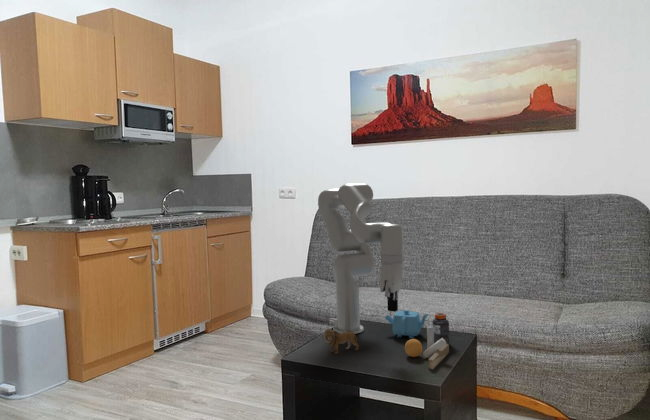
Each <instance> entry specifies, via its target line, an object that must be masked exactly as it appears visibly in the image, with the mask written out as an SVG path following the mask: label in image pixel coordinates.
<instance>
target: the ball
mask: <svg viewBox="0 0 650 420" xmlns="http://www.w3.org/2000/svg"><path fill="white" fill-rule="evenodd" d="M404 350H405V353H406V354H407V355H408V356H409V357H411V358H417V357H419V356H420V355H421V354H422V353H423V344H422V343H421V341H420V340H418V339H416V338H413V339H411V338H409V340H407V341H406V342H405V345H404Z"/></svg>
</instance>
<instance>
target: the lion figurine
mask: <svg viewBox="0 0 650 420" xmlns="http://www.w3.org/2000/svg"><path fill="white" fill-rule="evenodd" d="M323 339H324V342H325V343H326V344H328V346H331V349H330V351H329V352H331V353H333V354H334V355H337V354H338V353H339V345H341V344H345V343H346V342H347V346H346V347H345V350H349V348H350V347H351V346H352V345H353V346H355V347H356V348H354V351H359V347H360V344H359V343H358V338H357V334H354V333H353V332H346V333H342V334H340V333H338V332H336V331H333V329H331V328H327V329H325V331H324V332H323Z"/></svg>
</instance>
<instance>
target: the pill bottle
mask: <svg viewBox="0 0 650 420" xmlns="http://www.w3.org/2000/svg"><path fill="white" fill-rule="evenodd" d="M432 326H433V327H434V343H436V342H437V341H438V340H440V339H441V338H443V339H444V340H445V341H446V344H449V345H450V321H449V319H447V314H446V313H444V312H437V313H435V314H434V319H432Z"/></svg>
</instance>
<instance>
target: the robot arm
mask: <svg viewBox="0 0 650 420" xmlns="http://www.w3.org/2000/svg"><path fill="white" fill-rule="evenodd" d="M373 198H374V191H373V188H372V187H371V186H370V185H369V184H367V183H346V184H343V185H341V186H340V187H339V188H330V189H325V190H322V191H320V193H319V195H318V199H317V206H318V211H319V214H320V216H321V218H322V220H323V222H324V224H325V228H326V230H327V231H326V232H327V235H328V239H329V242H330V246H331V248H332V250H333V252H335V253H338V254H341V253H344V254H341V255H338V256H336V257H335V258H334V259H333V263H332V268H333V273H334V281H335V294H336V295H335V297H336V299H335V301H336V318H334V317H330V318H329V319H328V320H329V322H328V323H329V324H330V325H334V326H333V329H332V330H333V331H336V332H338V333H340V334H342V333H346V332H353V333H354V334H355V335H357V334H361V333H363V332H364V330H365V329H364V326H363V325H361V320H360V318H361V316H360V313H361V312H360V289H359V288H360V287H359V284H358V283H357V281H356V280H355V279H354V278H356V277H362V276H363V277H365V276H369V275H371V274H372V273H374V269H375V261H374V256H373V253H372V249H371V246H370V244H380V263H381V266H380V275H379V276H380V280H379V291H380V292H381V293H384V297H386V300H387V311H388V312H393V313H394V312H395V313H396V312H398V311H399V303H398V302H399V300H398V298H399V292H400V290H401V289H403V268H402V267H403V266H402V264H403V263H404V261H403V260H404V258H403V228H402V225H401V224H398V223H391V222H388V221H387V222H369V223H365V222H364V221H363V220H364V219H366V218H367V217H368V216H369V215H370V213H371V211H372V205H371V202H372V201H373ZM338 209H346V210H347V211H348V213H349V214H350V215H349V228H350V229H349V228H348V227H347V223H346V220H345V218H344V216H343V215H342V214H341V213H340V212H338Z"/></svg>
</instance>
